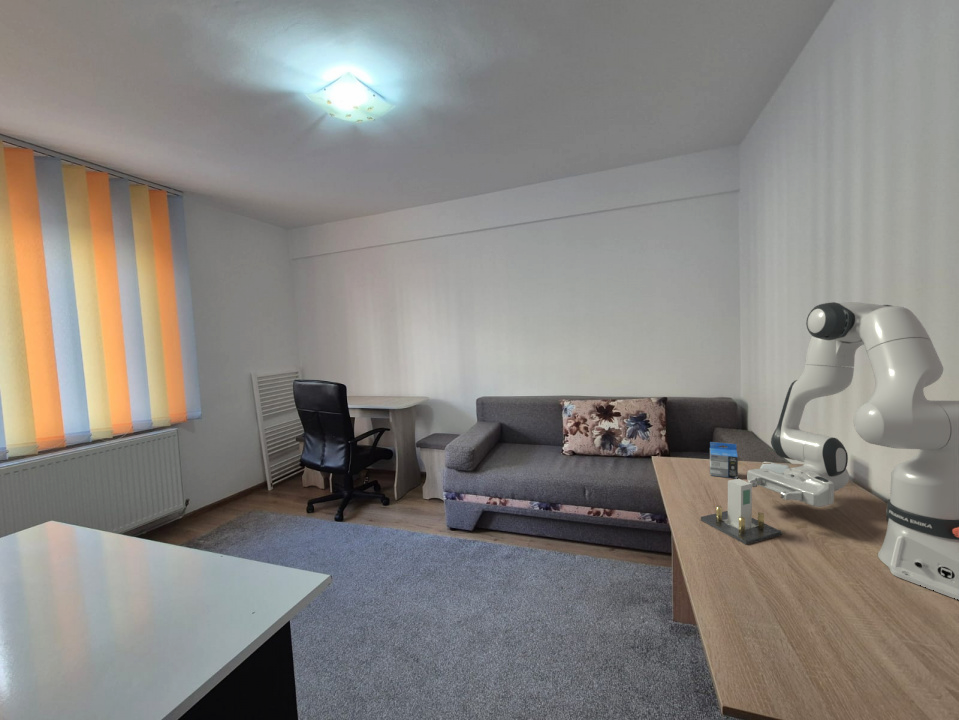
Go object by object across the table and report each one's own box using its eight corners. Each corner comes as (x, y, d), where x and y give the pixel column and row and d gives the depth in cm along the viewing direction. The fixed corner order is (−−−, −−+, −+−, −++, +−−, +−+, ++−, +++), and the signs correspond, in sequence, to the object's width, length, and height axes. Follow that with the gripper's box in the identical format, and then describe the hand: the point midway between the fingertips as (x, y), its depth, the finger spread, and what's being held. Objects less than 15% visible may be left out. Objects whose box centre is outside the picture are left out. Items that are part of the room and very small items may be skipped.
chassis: (781, 535, 104) (782, 517, 104) (745, 544, 100) (745, 526, 100) (734, 512, 118) (734, 496, 117) (700, 520, 114) (700, 503, 113)
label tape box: (710, 475, 146) (710, 444, 145) (709, 472, 150) (709, 441, 149) (737, 479, 142) (738, 446, 141) (736, 475, 146) (736, 443, 145)
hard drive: (785, 474, 142) (789, 465, 150) (758, 469, 147) (763, 460, 156) (785, 479, 142) (789, 469, 151) (758, 474, 148) (763, 464, 156)
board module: (751, 525, 107) (752, 483, 107) (740, 528, 106) (741, 486, 105) (738, 518, 111) (738, 478, 110) (727, 521, 110) (727, 480, 109)
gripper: (765, 461, 125) (733, 467, 121) (840, 484, 105) (804, 492, 101) (765, 480, 125) (733, 487, 121) (839, 506, 106) (804, 515, 102)
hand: (766, 489), depth 111 cm, fingers open, 8 cm apart
